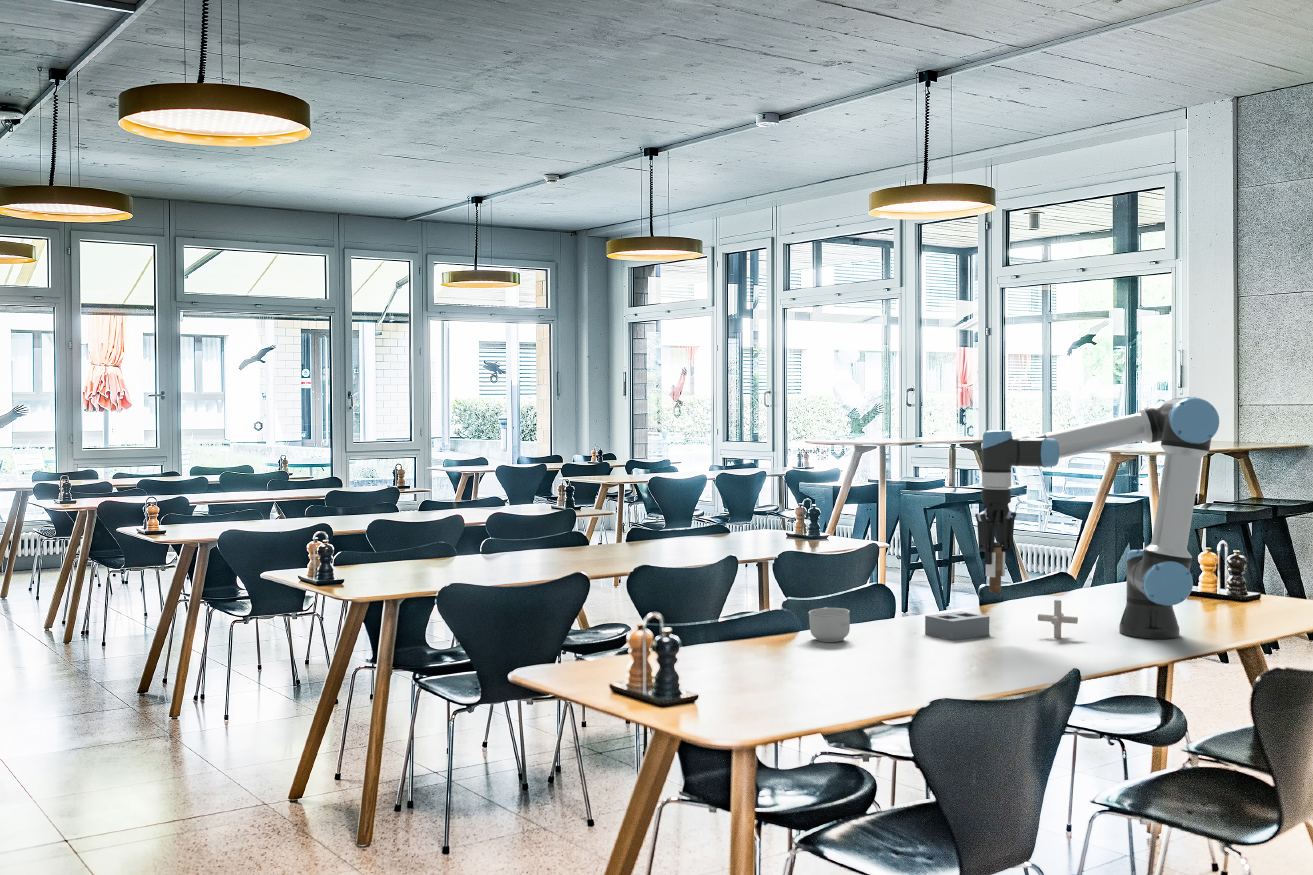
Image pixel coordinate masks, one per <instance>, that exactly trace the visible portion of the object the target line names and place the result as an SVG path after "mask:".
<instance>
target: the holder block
mask: <svg viewBox="0 0 1313 875" xmlns="http://www.w3.org/2000/svg"><path fill="white" fill-rule="evenodd" d="M924 629H925V630H924V635H929V636H933V637H937V638H942V639H946V640H951V641H955V640H963V639H969V638H976V637H983V636H989V635H990V616H988V615H983V614H978V613H972V612H968V611H953V612H952V611H951V612H945V613H939V614H929V615H925V617H924Z"/></svg>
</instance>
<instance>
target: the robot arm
mask: <svg viewBox="0 0 1313 875" xmlns="http://www.w3.org/2000/svg"><path fill="white" fill-rule="evenodd" d="M1219 426H1220V416H1219V413H1218V411H1217V409H1216V408H1215V407H1214V405H1213V404H1212V403H1210V402H1209V401H1208V400H1205V399H1202V398H1200V397H1196V396H1186V397H1177V398H1172V399H1169V400H1166V401H1163V402H1161V403H1158V404H1154V405H1152V406H1148V407H1143V408H1140V409H1139V410H1138V412H1137V413H1133V414H1128V415H1123V416H1119V417H1114V418H1109V419H1106V420H1101V421H1096V422H1091V423H1087V424H1082V425H1077V426H1072V427H1068V428H1064V429H1059V430H1055V431H1050V432H1046V433H1042V434H1040V433H1039V434H1036V435H1030V436H1023V437H1020V438H1018V437H1013V433H1012V431H1011V430H986V431H984V432H983V434H982V442H981V443H982V446H981V486H982V487H983V488H982V490H981V502H982V503H983V506H982V507H983V508H982V511H981V512H979V513H975V514H974V515H975V520H976V521H977V523H976V525H977V540H978V541H977V542H978V543H977V544H978V549H979V551H981V552H984V564H985V577H988V578H989V577H995V565H996V553H994V552H993V550H994V542H1000V547H1002V548H1001V577H1005V576H1006V563H1007V553H1008V552H1010V551H1011V549H1013V543H1014V541H1013V540H1014V529H1015V519H1016V516H1017V512H1015V511H1011V510H1010V507H1009V504H1010V503H1012V502H1011V501H1012V490H1011V489H1010V488H1011V487H1012V467H1038V468H1039V467H1040V468H1041V467H1043V468H1047V467H1056V466H1057V465H1059V461H1060V460H1059V459H1061V458H1066V457H1071V456H1075V455H1080V454H1086V453H1091V452H1095V451H1101V450H1104V449H1105V450H1106V449H1110V448H1114V447H1115V448H1116V447H1119V446H1125V445H1129V444H1133V443H1139V442H1145V443H1147V444H1151V443H1157V442H1160V446H1161V448H1162V449H1163V451H1164V453H1165V456H1164V464H1163V469H1162V473H1161V482H1160V486H1159V493H1158V494H1159V495H1158V500H1157V505H1156V506H1157V507H1156V512H1155V519H1154V525H1153V530H1152V537H1151V542H1150V543H1149V544H1148V545H1147V546H1146V547H1144V549H1131V550H1128V552H1127V554H1126V560H1125V565H1126V605H1125V608H1124V610H1123V613H1122V616H1121V619H1120V623H1119V628H1118V629H1119V631H1118V632H1119V633H1120V634H1122V635H1124V636H1127V637H1128V636H1129V637H1134V638H1139V639H1141V638H1142V639H1153V640H1155V639H1157V640H1158V639H1159V640H1162V639H1163V640H1165V639H1166V640H1167V639H1175V638H1176V639H1177V638H1179V637H1180V626H1179V623H1178V619H1177V616H1176V613H1175V610H1174V607H1173V606H1176V605H1179V604H1181V603H1182V602H1184V601H1186V600H1187V598H1189V596H1190V595H1191V593H1192V590H1193V587H1194V580H1193V576H1192V573H1191V568H1192V566H1191V565H1192V560H1193V556H1192V555H1191V553H1190V552H1189V551H1188V545H1189V538H1190V534H1191V532H1190V531H1191V526H1192V518H1193V514H1194V507H1195V501H1196V495H1197V488H1198V482H1199V476H1200V470H1201V466H1202V464H1201V463H1202V459H1203V458H1204V457H1205V456H1206V455H1207V454H1209V453H1210V449H1211V448H1210V447H1211V442H1212V438H1214V436H1215V435H1216V434H1217V432H1218V430H1219V428H1220V427H1219ZM995 539H996V541H995Z"/></svg>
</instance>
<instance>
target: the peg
mask: <svg viewBox="0 0 1313 875" xmlns="http://www.w3.org/2000/svg"><path fill="white" fill-rule="evenodd" d="M1001 548H1002V547H1000V542H997V541H994V550H993V552H994V553H996V565H995V577H988V578H989V584H988V586H989V587H988V588H989V589H988V592H989V593H992V594H993V593H994V594H995V593H996V594H997V593H999V594H1000V593H1001V592H1002V576H1001Z"/></svg>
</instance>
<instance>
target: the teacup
mask: <svg viewBox="0 0 1313 875" xmlns="http://www.w3.org/2000/svg"><path fill="white" fill-rule="evenodd" d="M807 613H808V621H809V631H810V634H811V635H812V637H813V638H815V639H816V641H818V642H821V643H822V642H823V643H838V642H841V641H843V640H844V639H845V638H846V637H847V636H848V635H849V633H850V629H851V627H850V626H851V625H850V624H851V622H850V609H847V608H843V607H841V608H840V607H827V606H826V607H825V606H824V607H821V608H814V609H811V610H809V611H808V612H807Z"/></svg>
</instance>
